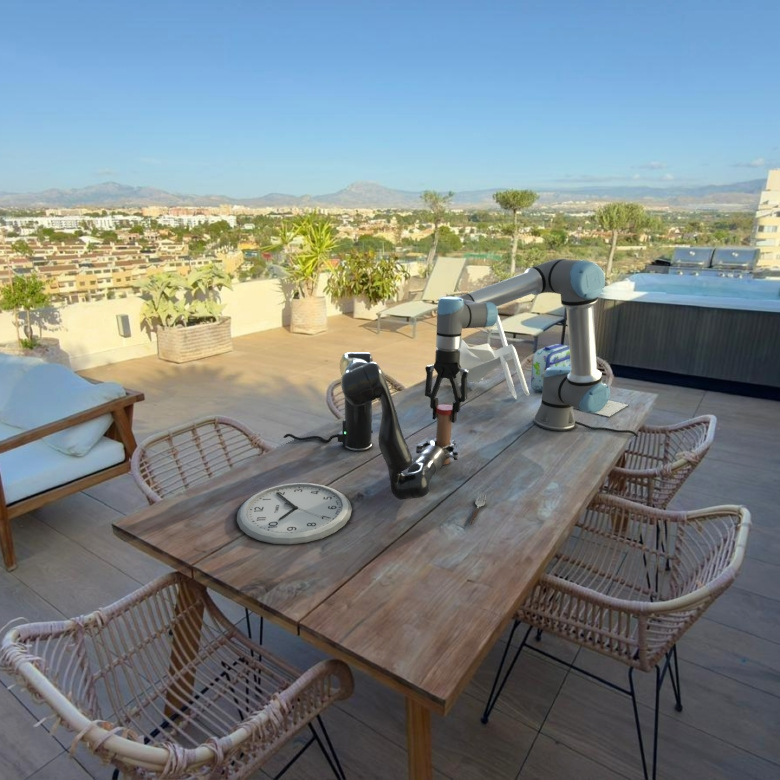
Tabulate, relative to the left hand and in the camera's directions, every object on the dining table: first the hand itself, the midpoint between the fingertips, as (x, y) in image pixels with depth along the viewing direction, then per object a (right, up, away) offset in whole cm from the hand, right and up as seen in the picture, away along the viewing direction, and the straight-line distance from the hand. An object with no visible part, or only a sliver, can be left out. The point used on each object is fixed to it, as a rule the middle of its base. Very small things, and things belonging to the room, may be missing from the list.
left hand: (445, 441), depth 171 cm
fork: (+5, -16, -31) cm, 35 cm away
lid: (-1, +11, -6) cm, 13 cm away
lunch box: (+59, +17, +80) cm, 101 cm away
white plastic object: (+23, +16, +72) cm, 77 cm away
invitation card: (+73, +9, +55) cm, 92 cm away
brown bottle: (-1, -7, -1) cm, 7 cm away
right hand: (-1, +7, -5) cm, 9 cm away
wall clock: (-43, -16, -32) cm, 56 cm away
